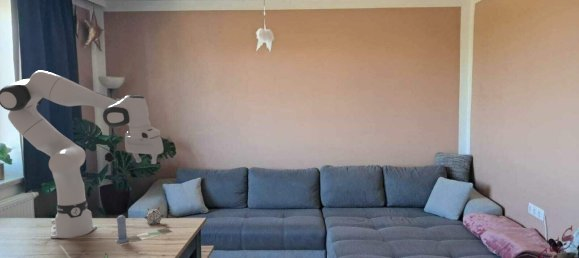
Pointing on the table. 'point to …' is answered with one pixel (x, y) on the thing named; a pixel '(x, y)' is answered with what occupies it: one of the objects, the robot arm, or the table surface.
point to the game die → (154, 216)
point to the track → (146, 235)
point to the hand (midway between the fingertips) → (146, 162)
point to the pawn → (121, 230)
